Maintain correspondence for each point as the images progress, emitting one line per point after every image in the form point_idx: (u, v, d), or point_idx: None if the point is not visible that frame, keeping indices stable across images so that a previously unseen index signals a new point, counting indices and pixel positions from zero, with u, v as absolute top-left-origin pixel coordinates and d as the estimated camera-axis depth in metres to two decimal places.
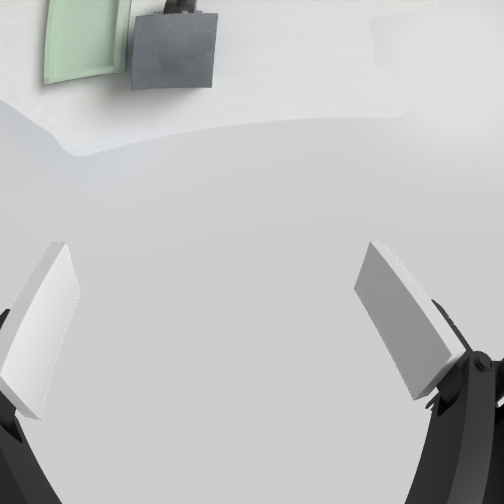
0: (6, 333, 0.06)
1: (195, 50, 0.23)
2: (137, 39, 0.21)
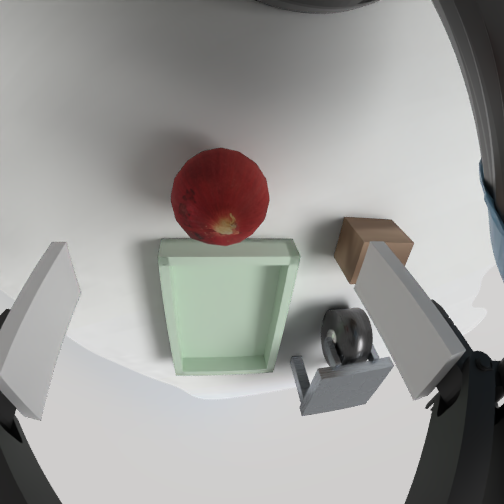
0: (6, 333, 0.06)
1: (364, 390, 0.28)
2: (317, 392, 0.26)
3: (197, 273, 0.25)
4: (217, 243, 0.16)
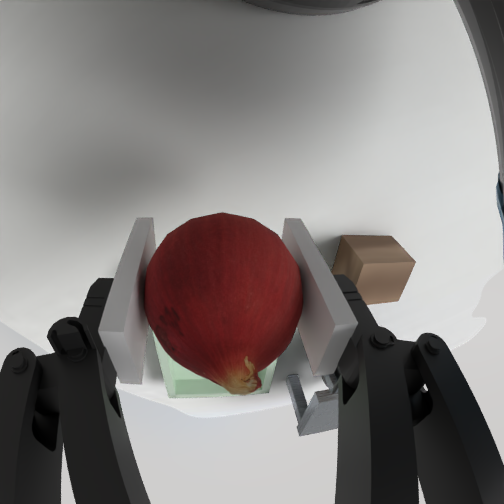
0: (118, 295, 0.08)
1: None
2: (315, 415, 0.24)
3: None
4: None
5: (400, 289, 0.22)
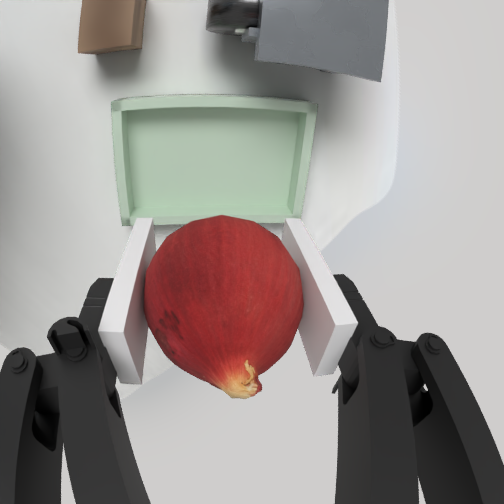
0: (118, 295, 0.08)
1: None
2: (303, 59, 0.14)
3: (156, 185, 0.24)
4: None
5: None
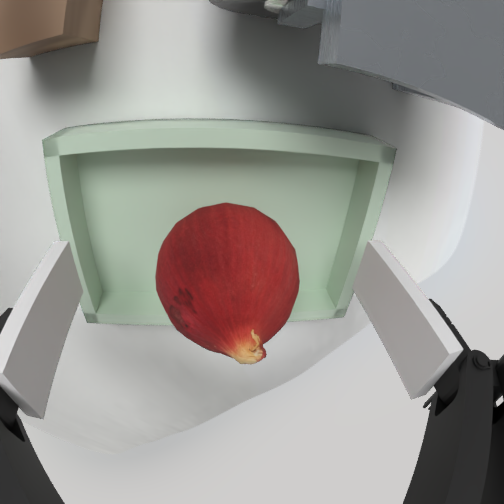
0: (9, 332, 0.06)
1: None
2: (425, 76, 0.06)
3: (131, 264, 0.16)
4: None
5: None
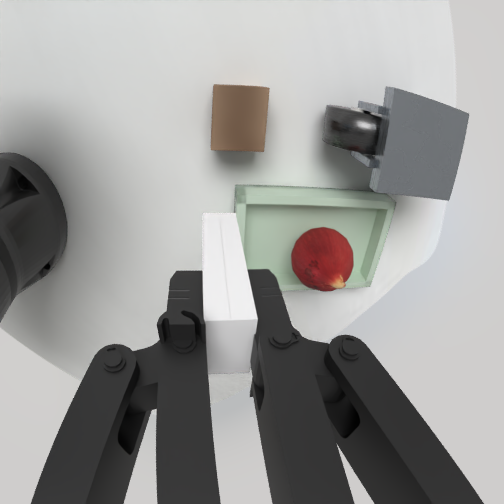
0: (213, 285, 0.09)
1: (433, 123, 0.18)
2: (404, 190, 0.21)
3: (262, 258, 0.31)
4: (326, 290, 0.26)
5: (251, 91, 0.19)
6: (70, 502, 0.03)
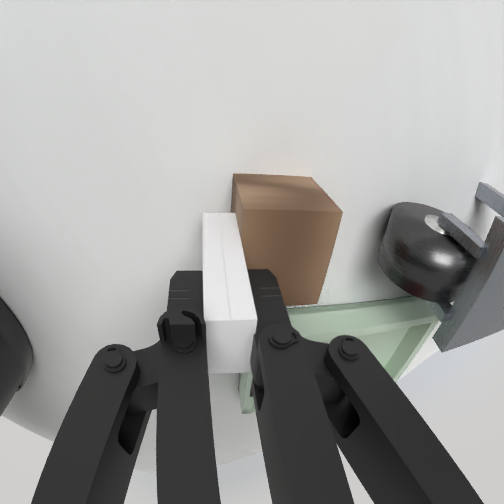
0: (213, 285, 0.09)
1: None
2: (471, 339, 0.14)
3: None
4: None
5: (311, 219, 0.12)
6: (70, 502, 0.03)
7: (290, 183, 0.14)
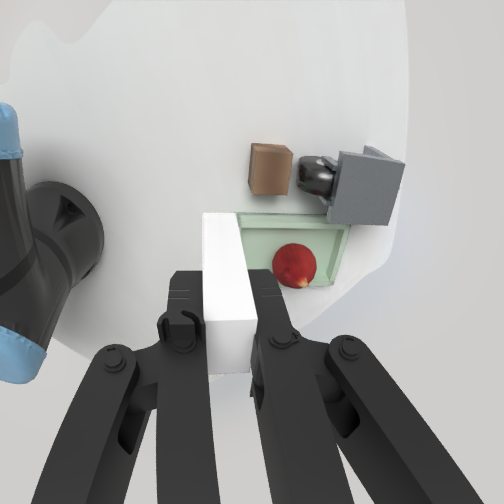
0: (213, 285, 0.09)
1: (374, 174, 0.30)
2: (351, 221, 0.32)
3: (251, 264, 0.43)
4: (296, 288, 0.38)
5: (281, 156, 0.31)
6: (70, 502, 0.03)
7: (274, 146, 0.33)
